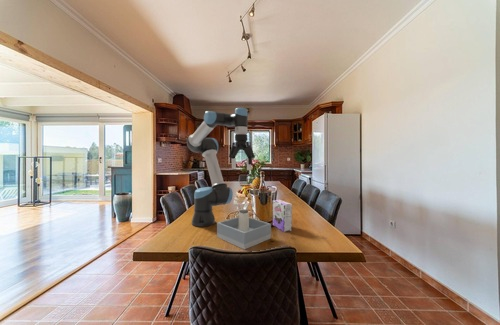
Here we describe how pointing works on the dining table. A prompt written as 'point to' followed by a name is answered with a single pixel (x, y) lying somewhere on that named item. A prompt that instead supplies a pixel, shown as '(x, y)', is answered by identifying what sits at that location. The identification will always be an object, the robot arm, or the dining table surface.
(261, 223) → the walled box
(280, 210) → the candy box
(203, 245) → the dining table surface
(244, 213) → the connector
